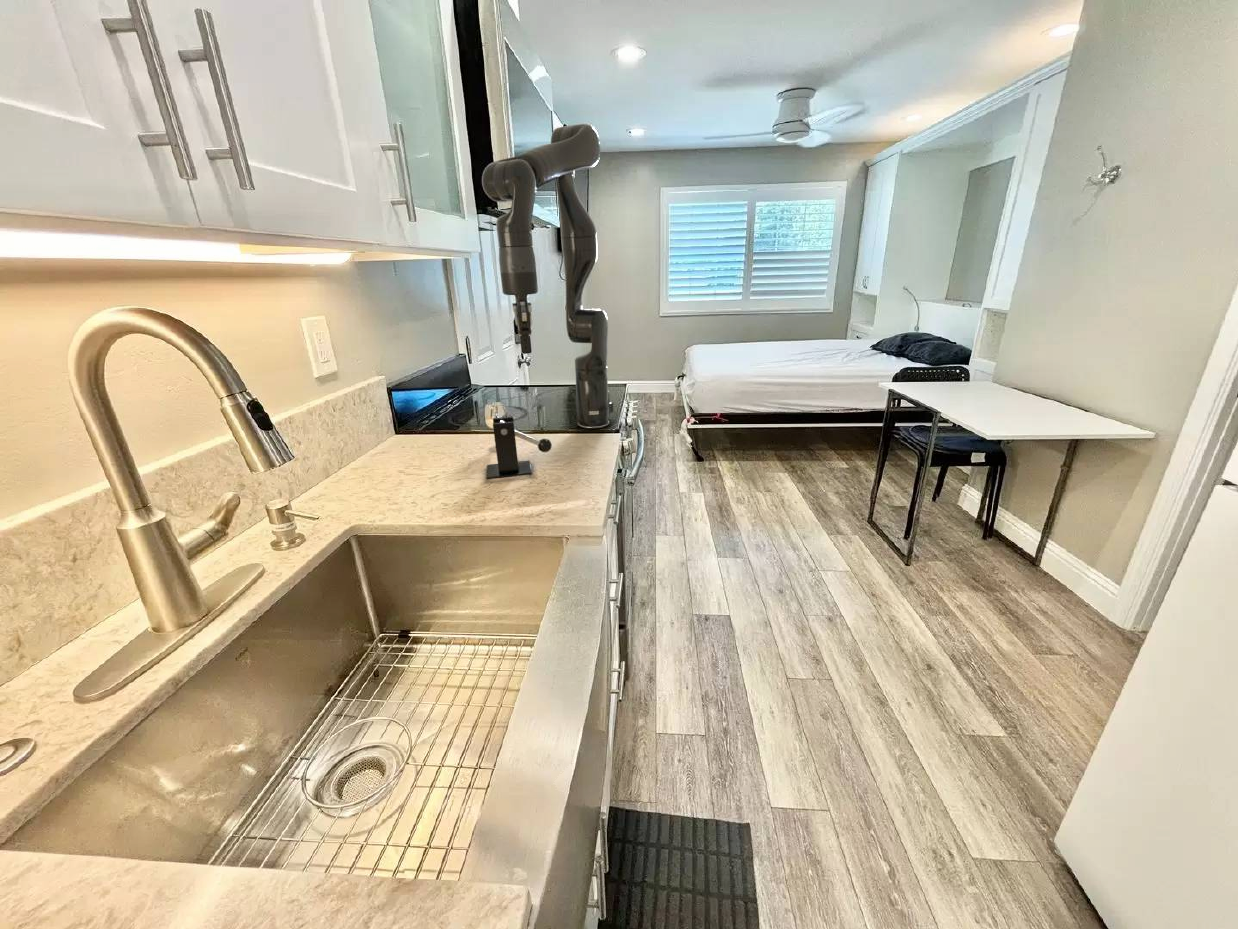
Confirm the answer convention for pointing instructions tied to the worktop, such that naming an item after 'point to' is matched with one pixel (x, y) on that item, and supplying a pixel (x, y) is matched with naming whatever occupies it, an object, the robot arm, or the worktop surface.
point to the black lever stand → (506, 452)
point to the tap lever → (534, 441)
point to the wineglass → (494, 412)
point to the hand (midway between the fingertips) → (526, 352)
